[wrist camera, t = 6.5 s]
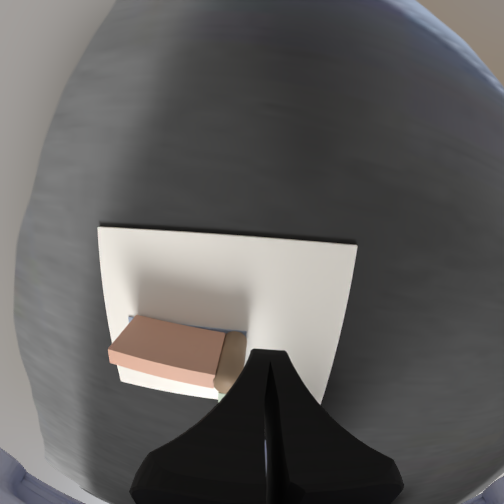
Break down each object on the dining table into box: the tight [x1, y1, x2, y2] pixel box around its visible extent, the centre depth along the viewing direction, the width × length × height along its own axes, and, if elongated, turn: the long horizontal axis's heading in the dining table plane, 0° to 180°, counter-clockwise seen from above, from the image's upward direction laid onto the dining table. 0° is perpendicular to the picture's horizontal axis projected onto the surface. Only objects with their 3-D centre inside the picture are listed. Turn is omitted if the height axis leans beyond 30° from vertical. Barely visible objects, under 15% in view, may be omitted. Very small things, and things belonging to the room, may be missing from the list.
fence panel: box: [108, 315, 247, 394], centre depth 19 cm, size 9×2×5 cm, turn 82°
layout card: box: [98, 226, 357, 405], centre depth 21 cm, size 15×19×1 cm
